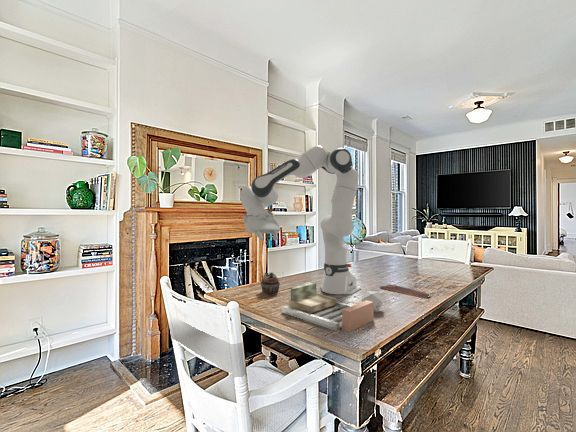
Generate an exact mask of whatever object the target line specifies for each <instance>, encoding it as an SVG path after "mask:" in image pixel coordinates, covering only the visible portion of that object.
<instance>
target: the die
mask: <svg viewBox="0 0 576 432" xmlns="http://www.w3.org/2000/svg"><path fill="white" fill-rule="evenodd" d="M366 300H368V301H372V302H374V309H373V313H379V312H380V309H381V307H382V305H383V300H382V297H381V293H380V291H374V290H373V291H372V290H366V291H365V293H364V295H363V296H362V298H361V302H363V301H366Z"/></svg>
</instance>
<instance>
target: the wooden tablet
mask: <svg viewBox="0 0 576 432" xmlns="http://www.w3.org/2000/svg"><path fill="white" fill-rule="evenodd" d="M379 289H382V290H386V291H390V292H394V293H400V294H403V295H408V296H413V297H418V298H422V297H425V298H424V299H429V298H428V296H429V294H430V293H427V292H424V291H419V290H416V289H412V288H407V287H404V286H400V285H394V284H387V285H383V286H382V285H381V286H379Z"/></svg>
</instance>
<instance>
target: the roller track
mask: <svg viewBox="0 0 576 432" xmlns="http://www.w3.org/2000/svg"><path fill="white" fill-rule="evenodd" d="M350 306H353V305H352V304H348V303H344V302H340V301H337V300H336V304H335V305H333V306H330V307H327V308H324V309H321V310H319V311H316V312H313V313H309V312H306V311H303V310H300V309H296V308H293V307H290V306H289V305H288V306H287V305H283V306H282V309H281V310H282V311H281V313H283V314H284V315H287V314H288V316H290V315H291V317H293V316H294V317H293V318H296V317H297V319H299V318H300V319H299V320H302V319H303V321H305V322H308V323H311V324H315V325H317V326H320V327H323V328H326V329H329V330H332V331H334V332H338V331H340V330H341V329H342V310H343V309H345V308H348V307H350Z"/></svg>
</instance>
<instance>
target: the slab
mask: <svg viewBox="0 0 576 432" xmlns="http://www.w3.org/2000/svg"><path fill="white" fill-rule="evenodd" d="M336 301H337V297H333V296H328V295H325V294H321V293H317V282H314V281H313V282H310V283H309V282H308V283H305V284H301V285H297V286H293V287H290V299H289V300H288V307H293V308H296V309H300V310H303V311H306V312H309V313H313V312H316V311H319V310H321V309H324V308H327V307H330V306H333V305H335V304H336Z"/></svg>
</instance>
